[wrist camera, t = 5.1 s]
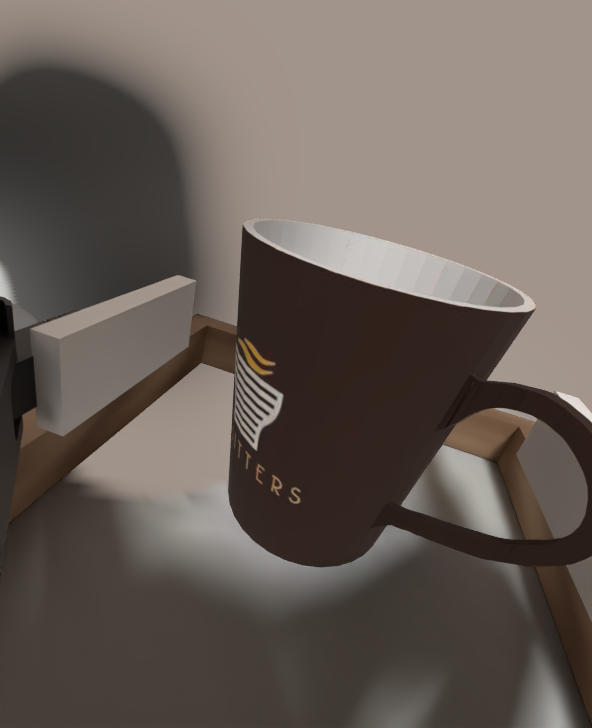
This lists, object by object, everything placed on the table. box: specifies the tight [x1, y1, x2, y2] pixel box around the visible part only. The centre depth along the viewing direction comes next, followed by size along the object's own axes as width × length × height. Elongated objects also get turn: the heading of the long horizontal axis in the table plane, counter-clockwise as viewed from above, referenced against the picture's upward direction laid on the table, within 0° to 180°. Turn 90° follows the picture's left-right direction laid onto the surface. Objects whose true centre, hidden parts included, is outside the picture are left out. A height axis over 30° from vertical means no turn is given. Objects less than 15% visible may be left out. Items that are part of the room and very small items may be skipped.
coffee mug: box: [228, 218, 592, 567], centre depth 13 cm, size 12×9×10 cm
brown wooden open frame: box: [9, 314, 592, 724], centre depth 15 cm, size 19×20×2 cm
